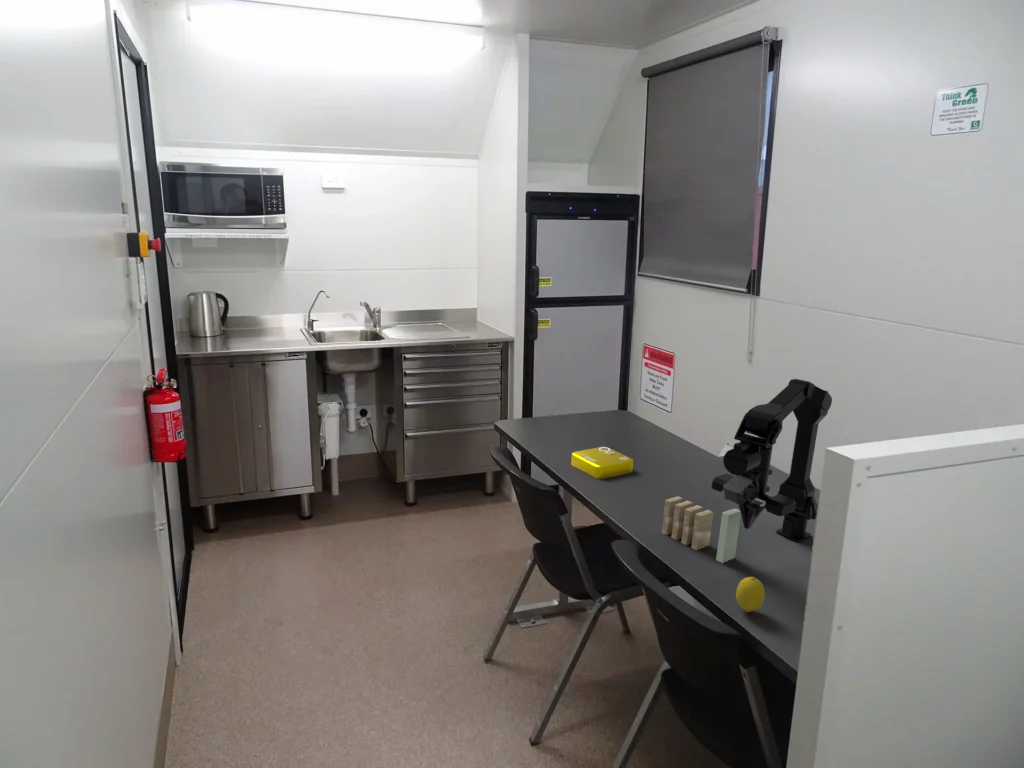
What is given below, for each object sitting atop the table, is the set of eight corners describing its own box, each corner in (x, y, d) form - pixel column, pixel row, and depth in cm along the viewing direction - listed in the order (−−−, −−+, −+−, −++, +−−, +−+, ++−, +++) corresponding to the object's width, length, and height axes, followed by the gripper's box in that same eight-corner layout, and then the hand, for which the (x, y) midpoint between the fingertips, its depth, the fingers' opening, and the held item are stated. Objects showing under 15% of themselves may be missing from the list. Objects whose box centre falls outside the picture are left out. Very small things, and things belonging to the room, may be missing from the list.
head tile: (715, 560, 168) (722, 512, 165) (728, 555, 171) (735, 508, 168) (722, 563, 167) (728, 515, 164) (734, 558, 170) (741, 511, 167)
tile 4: (661, 532, 181) (665, 500, 179) (674, 528, 184) (678, 496, 182) (666, 534, 180) (670, 502, 178) (679, 530, 183) (682, 498, 181)
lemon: (755, 604, 150) (760, 570, 148) (765, 619, 144) (771, 584, 142) (730, 604, 150) (735, 569, 148) (739, 618, 144) (744, 583, 142)
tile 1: (691, 547, 174) (695, 514, 172) (703, 543, 177) (708, 509, 175) (696, 550, 173) (700, 516, 170) (709, 545, 176) (713, 512, 173)
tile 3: (671, 537, 179) (675, 504, 177) (683, 533, 182) (687, 500, 179) (676, 539, 178) (680, 506, 175) (688, 535, 180) (692, 502, 178)
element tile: (568, 464, 227) (569, 450, 226) (604, 457, 235) (605, 444, 234) (598, 481, 215) (599, 466, 214) (635, 473, 223) (636, 458, 222)
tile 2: (681, 542, 176) (685, 509, 174) (693, 538, 179) (697, 505, 177) (686, 545, 175) (690, 511, 173) (698, 540, 178) (702, 507, 176)
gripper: (700, 458, 162) (692, 520, 165) (771, 485, 147) (761, 553, 151) (730, 450, 168) (722, 510, 172) (801, 475, 154) (791, 541, 158)
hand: (747, 528), depth 163 cm, fingers closed
